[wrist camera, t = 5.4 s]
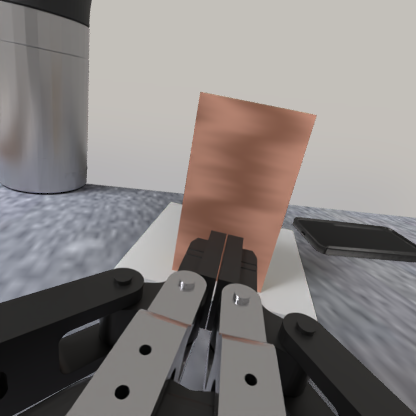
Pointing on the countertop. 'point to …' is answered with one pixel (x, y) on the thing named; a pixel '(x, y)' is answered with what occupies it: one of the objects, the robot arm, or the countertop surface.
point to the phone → (355, 240)
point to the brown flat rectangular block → (241, 174)
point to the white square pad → (162, 268)
